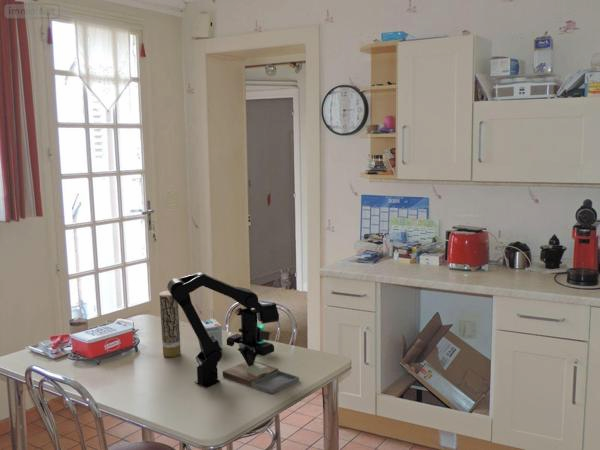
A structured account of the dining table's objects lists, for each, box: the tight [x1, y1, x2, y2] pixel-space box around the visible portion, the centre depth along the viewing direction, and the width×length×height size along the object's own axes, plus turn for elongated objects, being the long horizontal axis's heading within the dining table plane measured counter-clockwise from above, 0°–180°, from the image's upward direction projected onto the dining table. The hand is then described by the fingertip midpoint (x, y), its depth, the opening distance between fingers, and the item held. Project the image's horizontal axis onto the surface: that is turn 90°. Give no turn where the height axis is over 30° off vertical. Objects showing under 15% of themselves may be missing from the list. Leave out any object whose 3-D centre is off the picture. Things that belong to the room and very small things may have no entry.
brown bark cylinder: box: [159, 290, 182, 358], centre depth 244 cm, size 7×7×25 cm
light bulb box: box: [201, 318, 224, 353], centre depth 251 cm, size 11×7×11 cm, turn 25°
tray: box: [250, 369, 300, 395], centre depth 216 cm, size 14×10×2 cm
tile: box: [247, 363, 267, 376], centre depth 221 cm, size 5×5×2 cm
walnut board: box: [222, 360, 279, 387], centre depth 223 cm, size 14×14×2 cm
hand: (250, 367), depth 223 cm, fingers closed
